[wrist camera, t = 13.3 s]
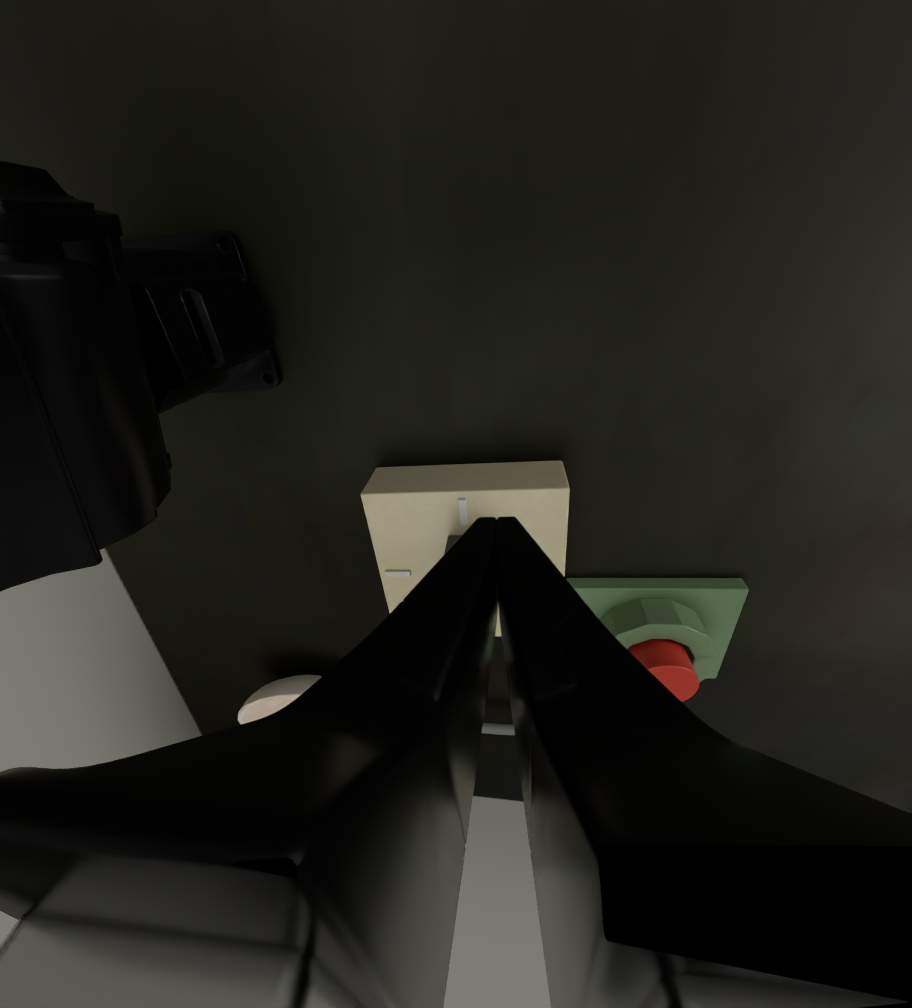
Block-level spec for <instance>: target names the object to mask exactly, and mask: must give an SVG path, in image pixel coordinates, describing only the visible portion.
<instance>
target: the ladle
mask: <svg viewBox="0 0 912 1008" xmlns="http://www.w3.org/2000/svg"><path fill="white" fill-rule="evenodd" d="M321 677H322V676H319V675H296V676H291V677H286V678H283V679H280V680H276V681H273V682H271V683H269V684H267V685H265V686H263V687H262V688H260V689H259V690H258V691H256V692H255V693H253V694H252V695H251V696H250V697H249V698H248V699H247V700H246V702H245V703H244V705H243V706H242V708H241V709H240V711H239V713H238V721H239V722H240V723H241V724H245V723H248V722H252V721H255V720H258V719H261V718H264V717H266V716H268V715H271V714H273V713H275V712H277V711H278V710H280V709H282V708H284V707H285V706H287V705H288V704H290V703H291V702H292V701H294V700H295V699H296V698H298V697H299V696H300V695H301V694H303V693H304V692H305V691H306V690H307V689H308V688H309V687H311V686H312V685H313V684H314V683H315V682H316V681H317V680H319V679H320V678H321ZM482 733H488V734H500V735H515V733H514V725H513V724H495V723H483V726H482Z"/></svg>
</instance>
